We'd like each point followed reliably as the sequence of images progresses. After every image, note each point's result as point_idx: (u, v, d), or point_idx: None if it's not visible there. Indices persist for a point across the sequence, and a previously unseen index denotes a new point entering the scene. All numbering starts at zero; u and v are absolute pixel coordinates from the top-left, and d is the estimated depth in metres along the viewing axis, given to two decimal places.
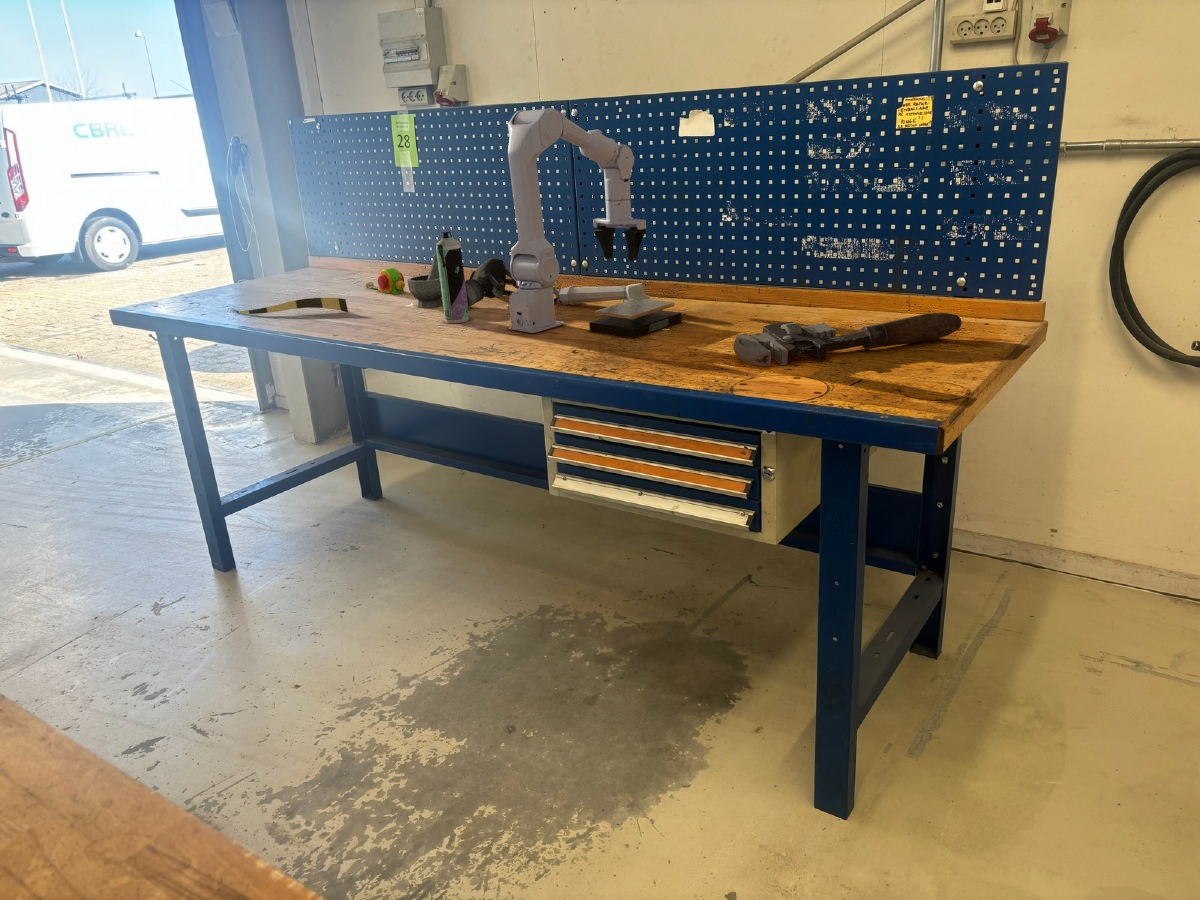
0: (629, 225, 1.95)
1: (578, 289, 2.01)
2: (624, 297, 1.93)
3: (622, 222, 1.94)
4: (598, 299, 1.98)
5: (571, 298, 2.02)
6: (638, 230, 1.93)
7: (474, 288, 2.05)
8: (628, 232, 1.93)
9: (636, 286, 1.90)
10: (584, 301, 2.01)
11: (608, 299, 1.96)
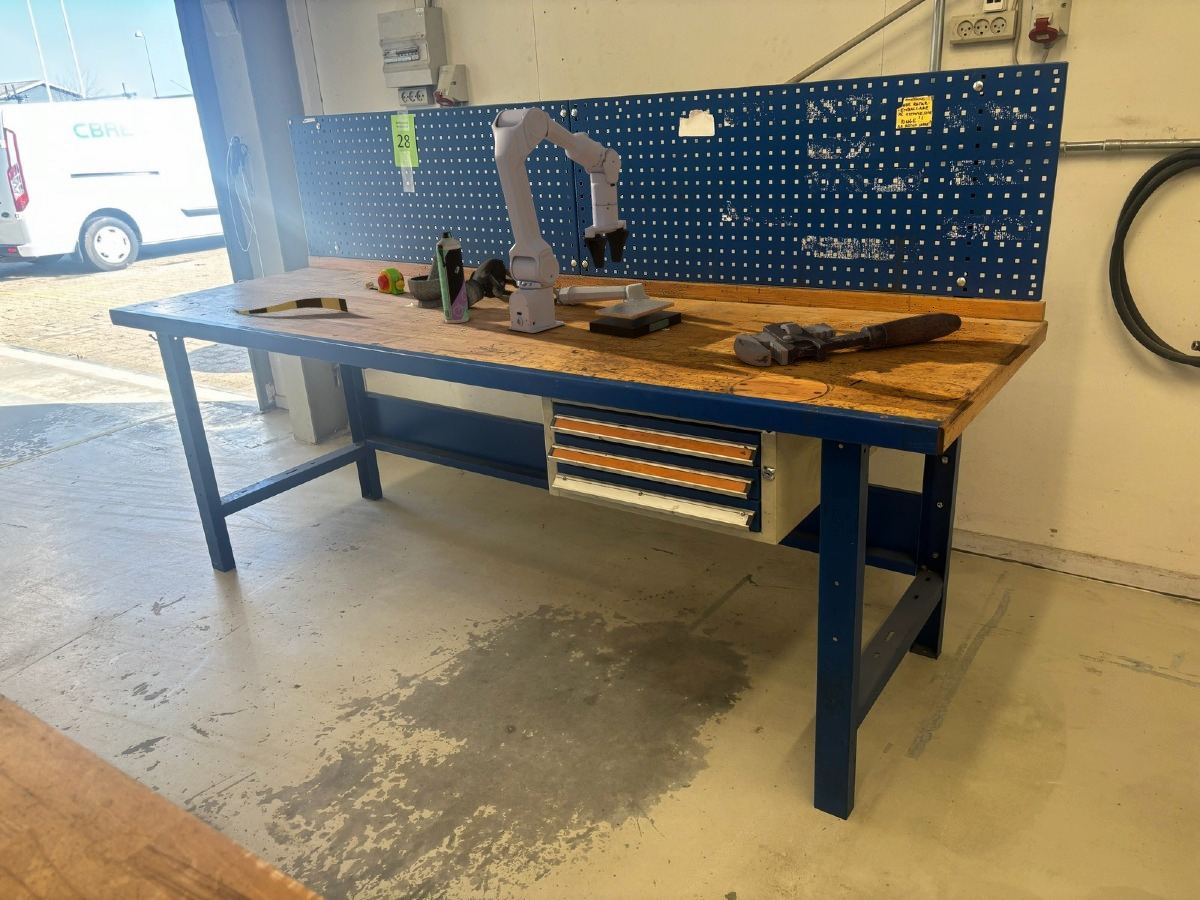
0: None
1: (578, 289, 2.01)
2: (624, 297, 1.93)
3: None
4: (598, 299, 1.98)
5: (571, 298, 2.02)
6: (589, 238, 1.90)
7: (474, 288, 2.05)
8: None
9: (636, 286, 1.90)
10: (584, 301, 2.01)
11: (608, 299, 1.96)
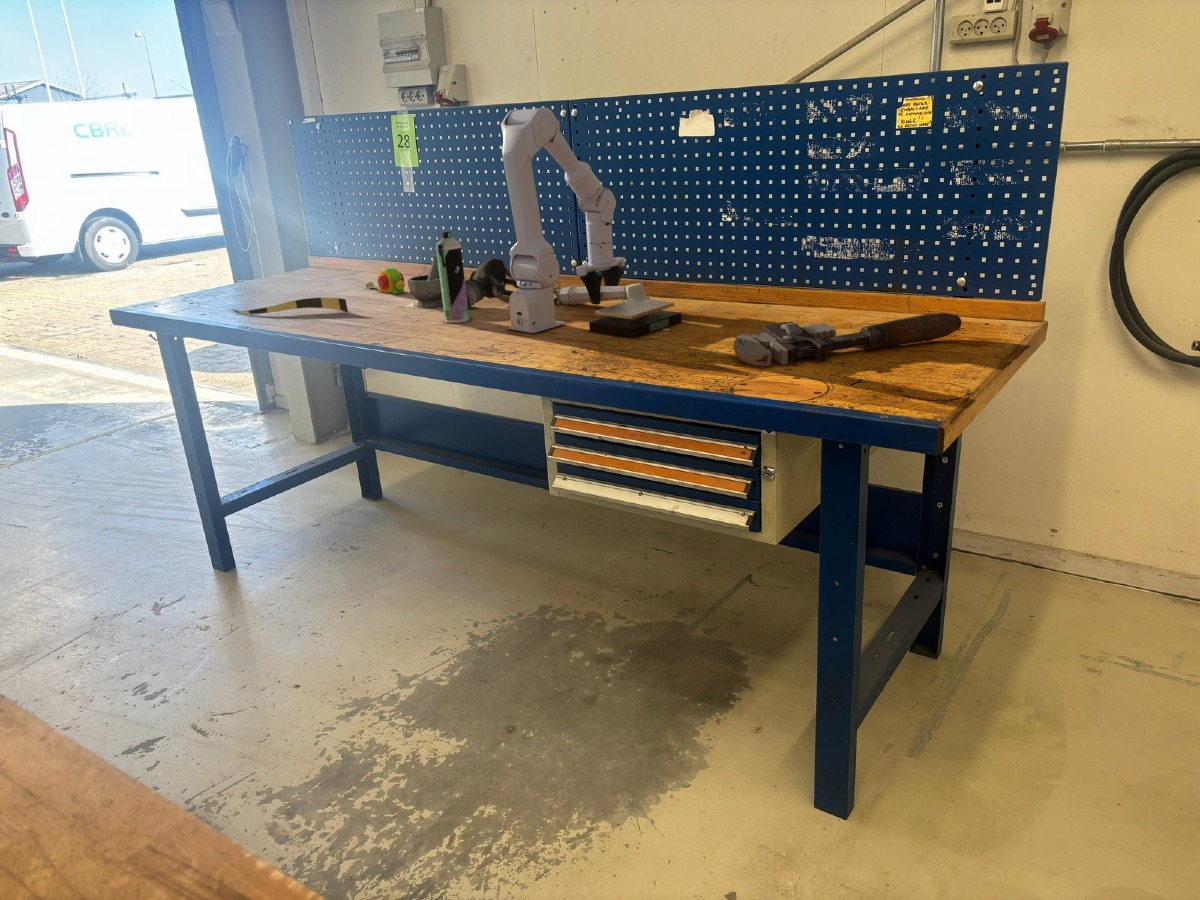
0: None
1: (578, 289, 2.01)
2: (624, 297, 1.93)
3: None
4: None
5: (571, 298, 2.02)
6: (585, 275, 1.93)
7: (474, 288, 2.05)
8: None
9: (636, 286, 1.90)
10: (584, 301, 2.01)
11: (608, 299, 1.96)
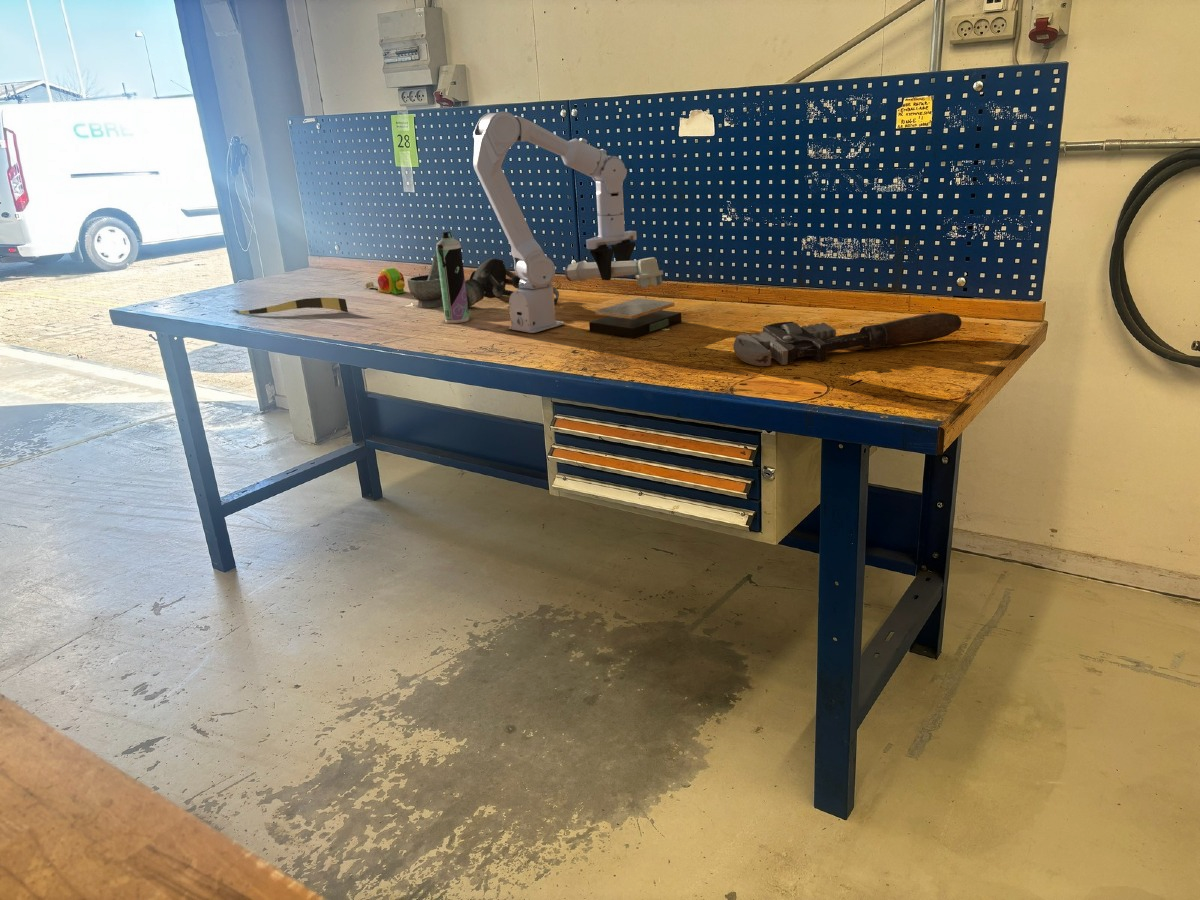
0: None
1: (587, 264, 1.90)
2: (636, 272, 1.83)
3: None
4: None
5: (580, 274, 1.91)
6: (595, 248, 1.82)
7: (474, 288, 2.05)
8: None
9: (649, 260, 1.79)
10: (593, 277, 1.90)
11: (619, 274, 1.86)
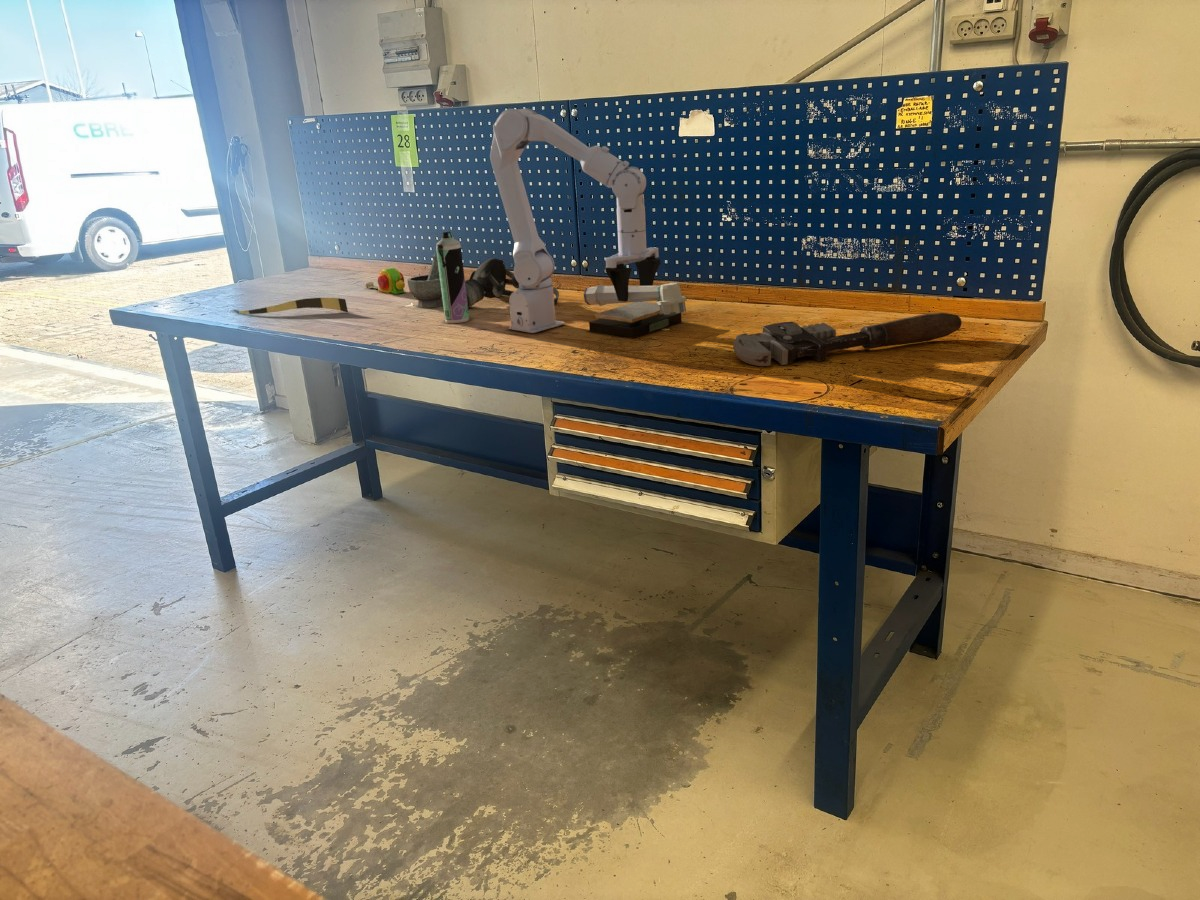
0: None
1: (607, 288, 1.80)
2: (658, 298, 1.72)
3: None
4: (629, 300, 1.77)
5: (599, 298, 1.81)
6: (611, 268, 1.71)
7: (474, 288, 2.05)
8: None
9: (671, 286, 1.69)
10: (613, 302, 1.80)
11: (640, 300, 1.75)
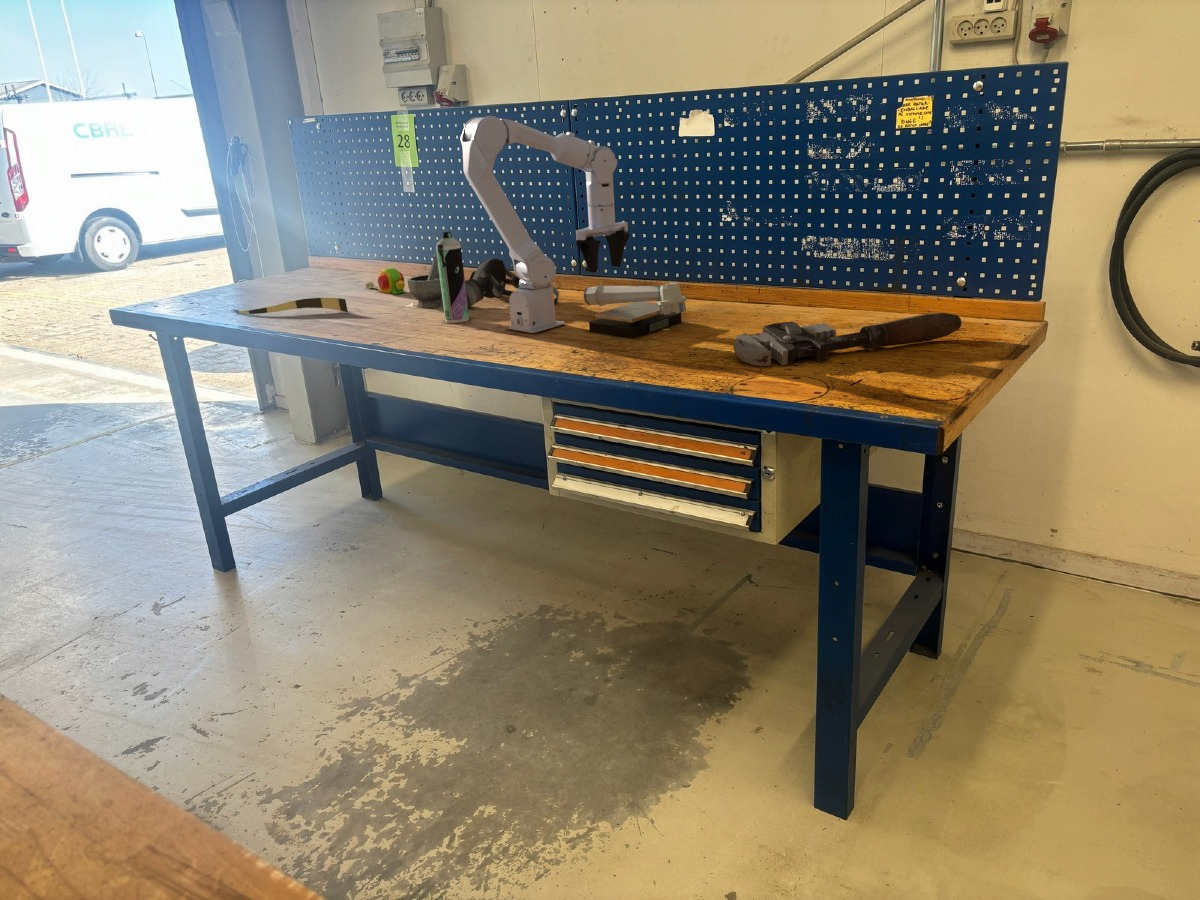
0: None
1: (607, 288, 1.80)
2: (658, 298, 1.72)
3: None
4: (629, 300, 1.77)
5: (599, 298, 1.81)
6: (581, 240, 1.81)
7: (474, 288, 2.05)
8: None
9: (671, 286, 1.69)
10: (613, 302, 1.80)
11: (640, 300, 1.75)
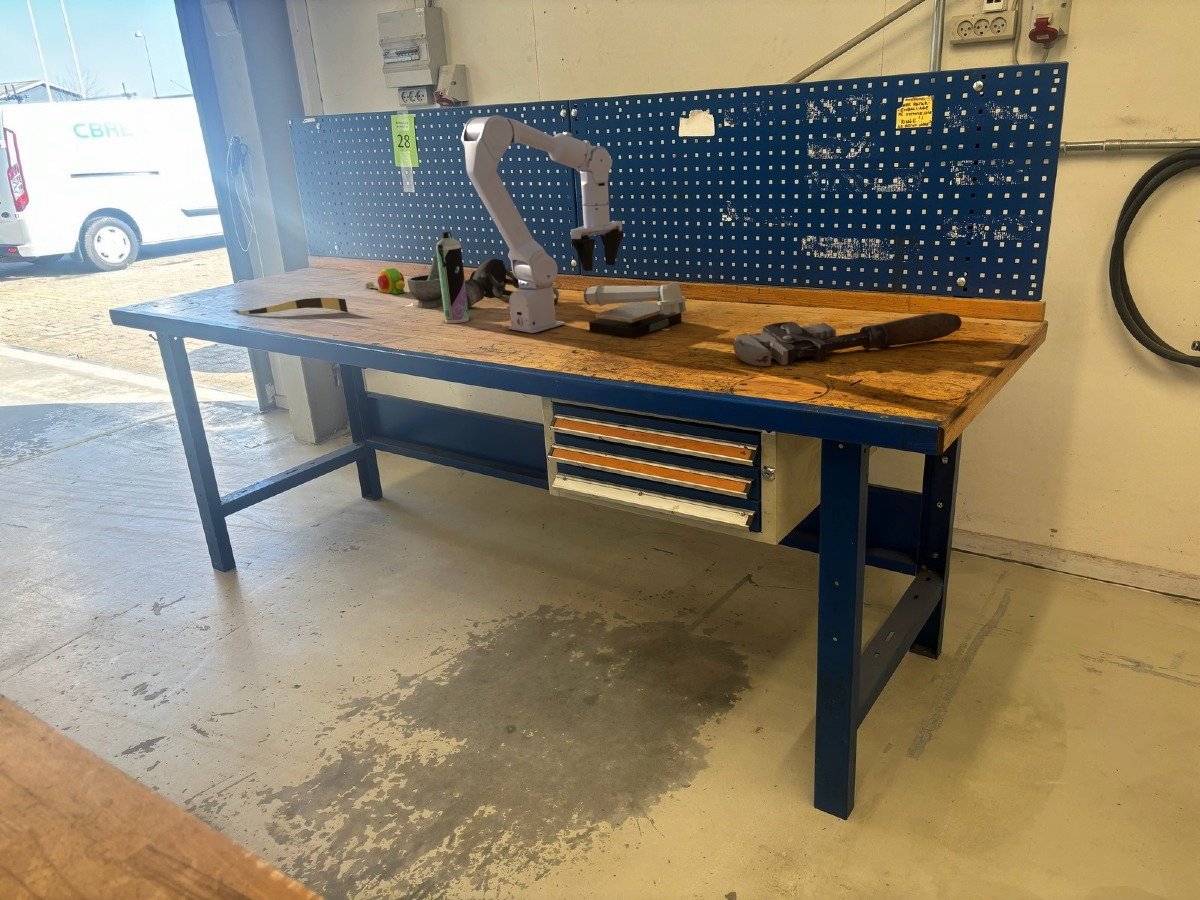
0: None
1: (607, 288, 1.80)
2: (658, 298, 1.72)
3: None
4: (629, 300, 1.77)
5: (599, 298, 1.81)
6: (576, 239, 1.83)
7: (474, 288, 2.05)
8: None
9: (671, 286, 1.69)
10: (613, 302, 1.80)
11: (640, 300, 1.75)
